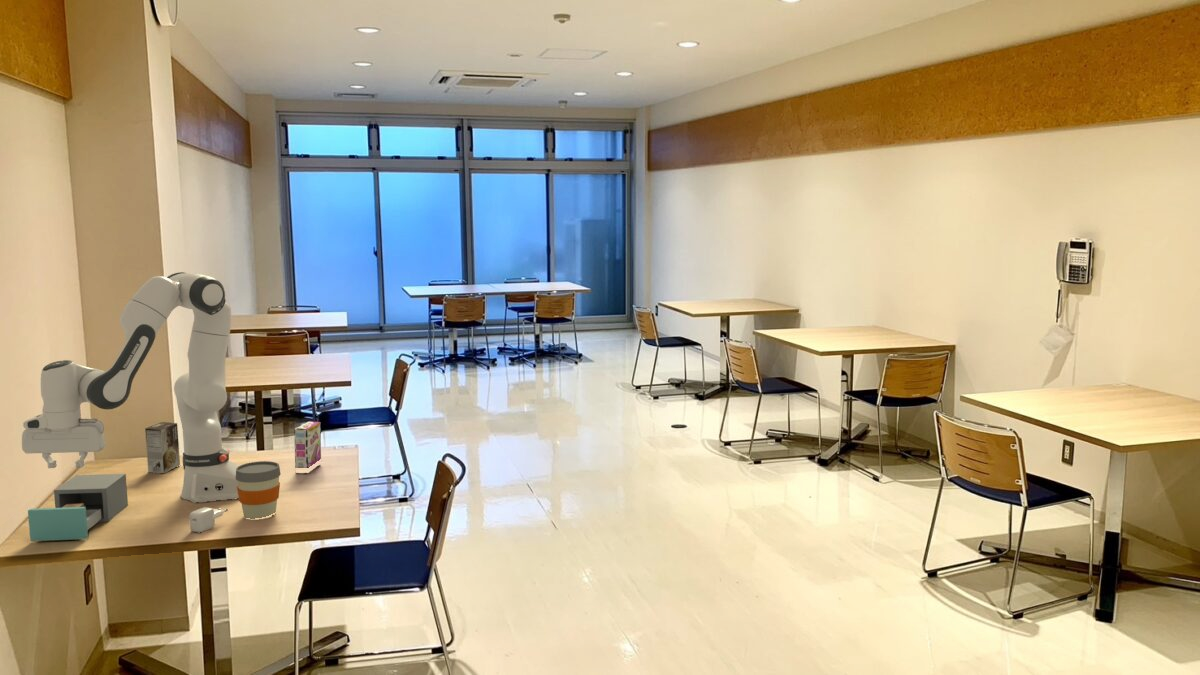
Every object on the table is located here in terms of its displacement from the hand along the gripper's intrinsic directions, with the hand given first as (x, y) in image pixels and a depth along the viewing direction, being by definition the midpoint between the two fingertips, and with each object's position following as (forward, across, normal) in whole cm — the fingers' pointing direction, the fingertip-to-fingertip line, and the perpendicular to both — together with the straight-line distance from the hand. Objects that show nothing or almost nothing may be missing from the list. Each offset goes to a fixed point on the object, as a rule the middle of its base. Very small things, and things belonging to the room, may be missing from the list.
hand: (66, 467), depth 230 cm
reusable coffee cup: (+19, -49, -8) cm, 53 cm away
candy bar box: (+19, -55, -53) cm, 79 cm away
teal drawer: (+18, 0, +1) cm, 18 cm away
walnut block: (+17, 0, 0) cm, 17 cm away
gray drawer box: (+19, 0, -14) cm, 24 cm away
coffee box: (+19, -5, -58) cm, 61 cm away
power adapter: (+19, -37, 0) cm, 42 cm away
